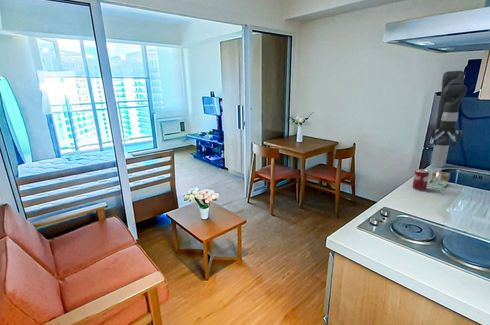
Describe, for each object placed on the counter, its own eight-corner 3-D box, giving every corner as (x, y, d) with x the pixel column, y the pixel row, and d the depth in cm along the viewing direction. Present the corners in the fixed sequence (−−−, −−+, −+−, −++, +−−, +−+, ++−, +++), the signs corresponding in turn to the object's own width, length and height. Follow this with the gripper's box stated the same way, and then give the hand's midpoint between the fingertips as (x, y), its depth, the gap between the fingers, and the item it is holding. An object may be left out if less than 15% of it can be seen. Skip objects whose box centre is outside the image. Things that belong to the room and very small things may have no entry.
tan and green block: (434, 176, 179) (435, 170, 178) (450, 180, 173) (451, 173, 171) (428, 181, 171) (430, 174, 170) (445, 185, 165) (446, 177, 163)
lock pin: (434, 184, 166) (437, 170, 163) (439, 185, 164) (442, 171, 161) (433, 185, 164) (436, 171, 161) (438, 186, 162) (441, 172, 160)
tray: (430, 182, 170) (431, 178, 170) (447, 185, 164) (447, 181, 163) (425, 186, 164) (426, 182, 163) (442, 189, 158) (443, 186, 157)
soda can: (425, 187, 161) (429, 169, 158) (426, 191, 156) (429, 173, 152) (412, 185, 165) (415, 168, 162) (412, 189, 159) (415, 171, 156)
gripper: (465, 120, 149) (460, 147, 154) (436, 118, 160) (432, 143, 164) (463, 121, 145) (457, 149, 149) (433, 119, 155) (428, 145, 160)
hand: (444, 146), depth 157 cm, fingers open, 8 cm apart
